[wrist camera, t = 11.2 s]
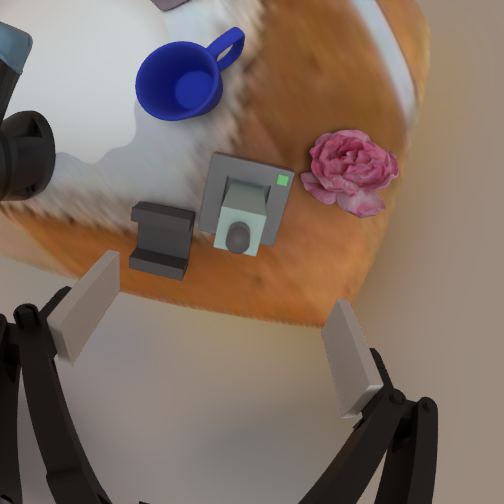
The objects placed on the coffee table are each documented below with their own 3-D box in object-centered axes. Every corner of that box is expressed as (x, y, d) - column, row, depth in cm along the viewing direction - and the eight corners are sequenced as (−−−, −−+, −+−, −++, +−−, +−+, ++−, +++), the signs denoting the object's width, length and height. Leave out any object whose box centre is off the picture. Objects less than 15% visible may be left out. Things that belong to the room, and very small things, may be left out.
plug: (226, 208, 37) (209, 258, 24) (232, 179, 35) (218, 214, 22) (256, 215, 37) (255, 268, 24) (263, 186, 35) (267, 226, 22)
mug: (266, 73, 29) (270, 54, 20) (194, 134, 33) (171, 138, 24) (223, 31, 27) (211, 2, 18) (153, 92, 30) (119, 85, 21)
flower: (300, 138, 36) (332, 97, 26) (360, 162, 38) (402, 132, 28) (287, 214, 34) (324, 186, 24) (355, 235, 36) (404, 218, 26)
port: (201, 223, 38) (197, 231, 35) (215, 151, 34) (211, 153, 31) (272, 238, 39) (273, 248, 36) (292, 169, 35) (295, 173, 32)
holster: (137, 256, 41) (129, 267, 37) (141, 200, 37) (131, 207, 33) (187, 268, 41) (181, 280, 38) (196, 211, 37) (190, 220, 34)
